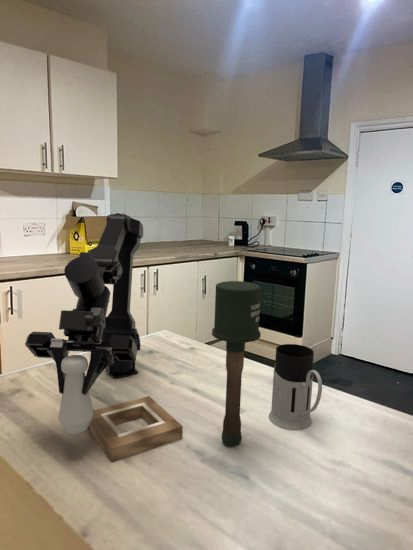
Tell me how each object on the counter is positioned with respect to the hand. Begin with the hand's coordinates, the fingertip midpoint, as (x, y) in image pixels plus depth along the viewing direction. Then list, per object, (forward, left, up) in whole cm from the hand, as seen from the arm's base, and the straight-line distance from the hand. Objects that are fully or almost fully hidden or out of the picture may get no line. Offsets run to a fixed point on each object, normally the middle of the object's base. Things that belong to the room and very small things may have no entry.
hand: (72, 393), depth 71 cm
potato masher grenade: (-26, +11, -12) cm, 30 cm away
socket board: (-12, -2, -12) cm, 17 cm away
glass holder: (-41, +13, -12) cm, 44 cm away
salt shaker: (-1, -1, -7) cm, 7 cm away
